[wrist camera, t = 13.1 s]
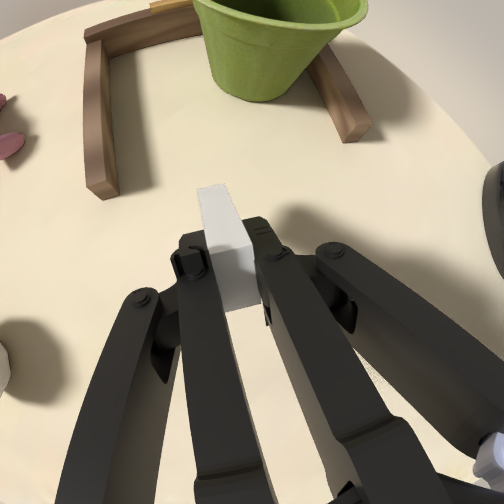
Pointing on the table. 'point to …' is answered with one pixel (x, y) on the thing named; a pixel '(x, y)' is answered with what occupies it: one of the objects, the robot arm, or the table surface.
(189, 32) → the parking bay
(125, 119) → the table surface
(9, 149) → the video game controller
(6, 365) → the apple
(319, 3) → the plant pot
